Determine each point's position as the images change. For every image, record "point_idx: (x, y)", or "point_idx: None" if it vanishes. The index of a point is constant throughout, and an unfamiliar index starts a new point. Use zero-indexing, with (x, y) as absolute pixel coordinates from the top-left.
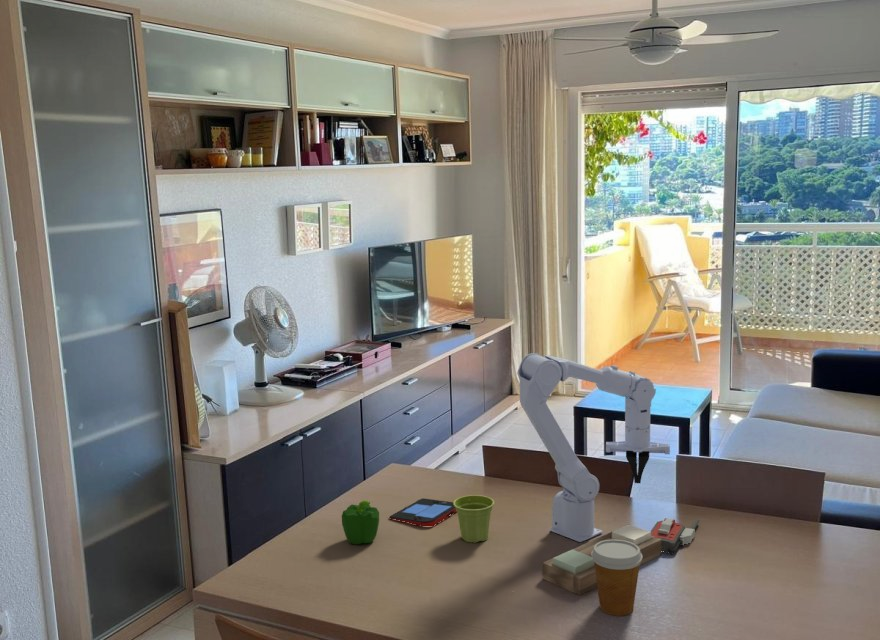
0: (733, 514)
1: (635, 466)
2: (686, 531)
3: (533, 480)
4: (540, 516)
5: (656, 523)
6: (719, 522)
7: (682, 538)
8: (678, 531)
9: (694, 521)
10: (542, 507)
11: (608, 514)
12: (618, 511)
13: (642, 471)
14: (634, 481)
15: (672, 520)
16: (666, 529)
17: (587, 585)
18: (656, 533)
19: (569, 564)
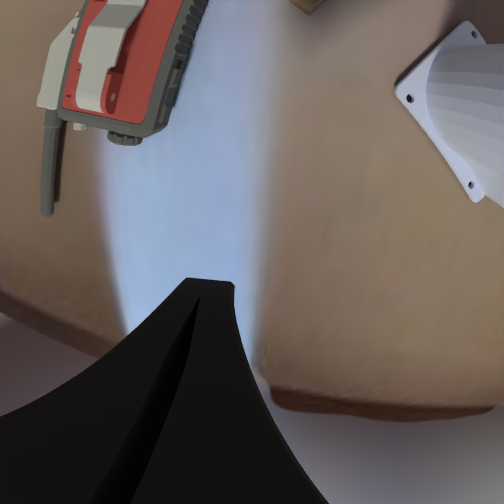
0: (9, 278)
1: (190, 408)
2: (57, 74)
3: (444, 414)
4: None
5: (155, 109)
6: (16, 229)
7: (76, 18)
8: (77, 40)
9: (46, 191)
10: (498, 301)
11: (342, 269)
12: (302, 294)
13: (121, 344)
14: (233, 291)
15: (78, 82)
16: (114, 9)
17: None
18: None
19: None
